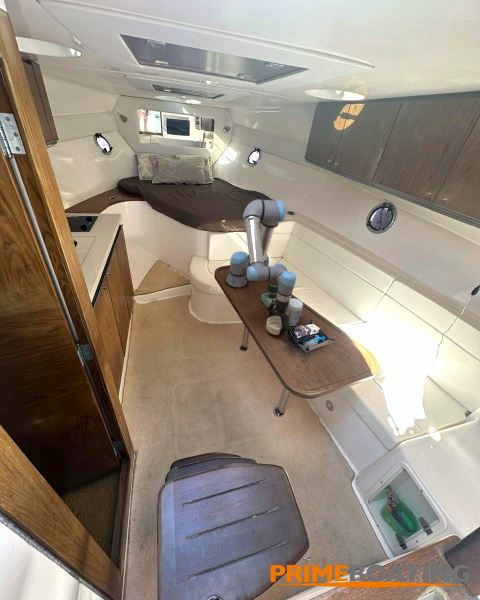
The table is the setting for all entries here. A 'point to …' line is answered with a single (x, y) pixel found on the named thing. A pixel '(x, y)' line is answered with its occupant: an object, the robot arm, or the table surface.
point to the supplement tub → (294, 311)
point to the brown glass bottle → (272, 289)
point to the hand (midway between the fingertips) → (275, 328)
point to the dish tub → (267, 300)
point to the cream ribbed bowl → (274, 325)
